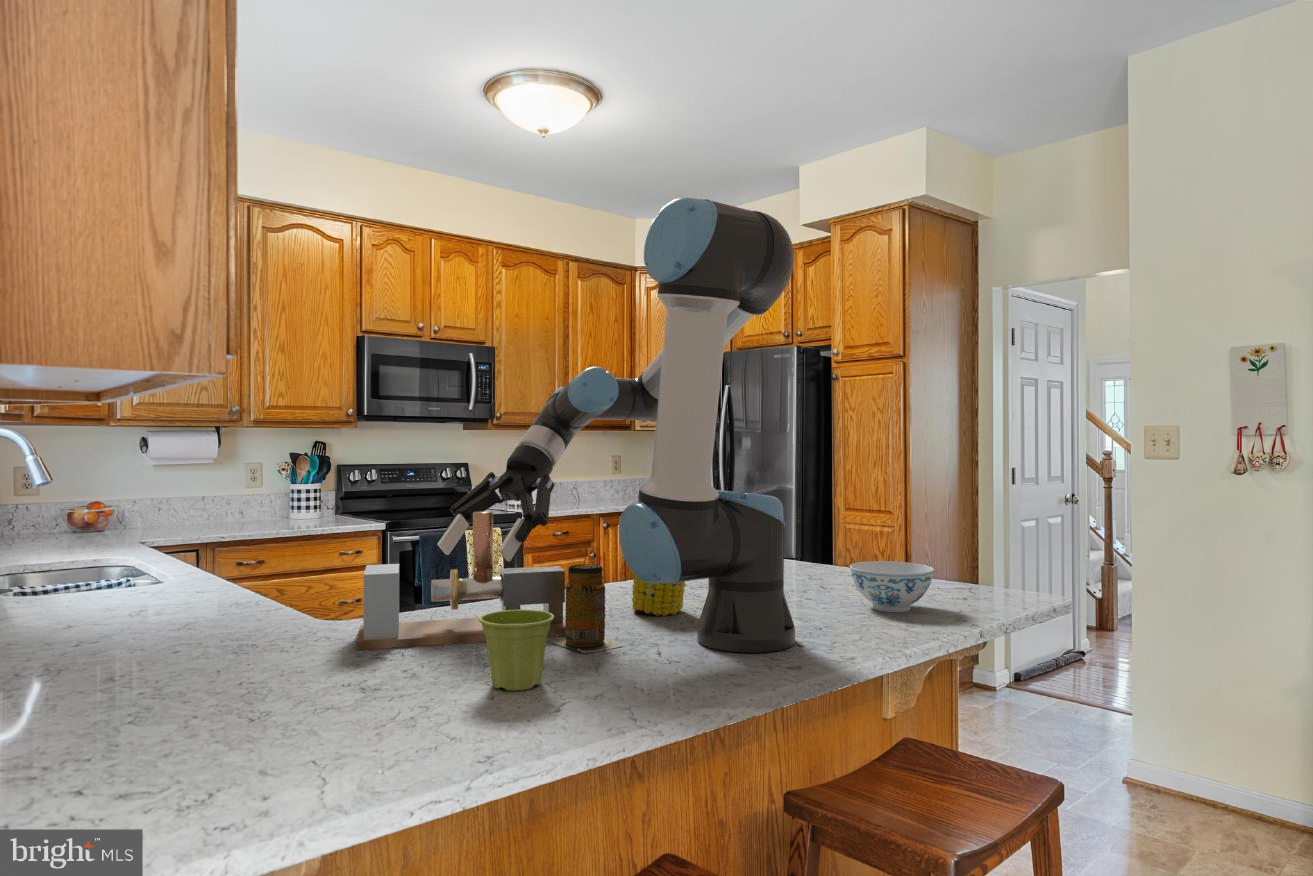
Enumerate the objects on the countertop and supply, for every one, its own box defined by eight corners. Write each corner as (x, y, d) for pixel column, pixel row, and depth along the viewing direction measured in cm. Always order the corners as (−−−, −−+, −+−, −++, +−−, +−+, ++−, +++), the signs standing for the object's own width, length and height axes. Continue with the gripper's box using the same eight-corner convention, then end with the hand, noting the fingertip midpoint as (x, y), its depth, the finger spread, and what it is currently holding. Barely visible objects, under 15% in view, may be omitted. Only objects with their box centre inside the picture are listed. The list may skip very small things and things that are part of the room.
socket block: (399, 623, 132) (399, 563, 132) (398, 637, 122) (398, 573, 122) (366, 625, 130) (366, 565, 130) (363, 640, 121) (363, 574, 121)
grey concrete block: (559, 616, 137) (559, 566, 137) (564, 623, 132) (565, 570, 132) (499, 620, 134) (499, 568, 134) (503, 627, 129) (503, 573, 129)
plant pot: (473, 678, 105) (474, 611, 105) (544, 671, 109) (544, 606, 109) (484, 699, 97) (485, 627, 97) (561, 691, 100) (561, 621, 100)
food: (631, 615, 151) (684, 618, 151) (630, 614, 140) (688, 617, 140) (635, 534, 155) (687, 537, 155) (634, 526, 143) (691, 529, 143)
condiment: (591, 636, 128) (591, 561, 128) (623, 647, 122) (623, 567, 122) (552, 644, 124) (552, 565, 124) (583, 655, 117) (583, 572, 117)
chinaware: (880, 597, 161) (880, 559, 161) (949, 609, 149) (949, 567, 149) (833, 607, 151) (833, 566, 151) (904, 621, 140) (903, 576, 140)
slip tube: (555, 599, 138) (555, 509, 138) (562, 606, 132) (562, 511, 132) (431, 606, 132) (431, 511, 132) (432, 614, 125) (432, 515, 126)
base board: (558, 619, 141) (558, 612, 141) (572, 635, 129) (572, 627, 129) (360, 632, 131) (360, 624, 131) (355, 650, 120) (356, 642, 120)
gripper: (601, 473, 137) (543, 573, 125) (493, 470, 151) (431, 561, 138) (582, 442, 133) (519, 543, 120) (473, 442, 146) (406, 532, 134)
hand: (472, 552), depth 129 cm, fingers open, 13 cm apart
